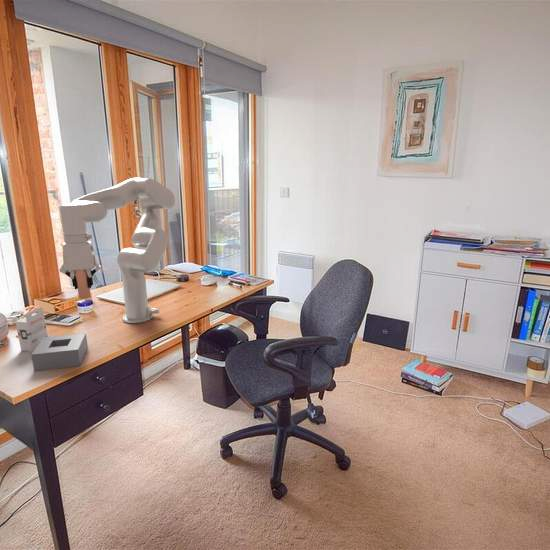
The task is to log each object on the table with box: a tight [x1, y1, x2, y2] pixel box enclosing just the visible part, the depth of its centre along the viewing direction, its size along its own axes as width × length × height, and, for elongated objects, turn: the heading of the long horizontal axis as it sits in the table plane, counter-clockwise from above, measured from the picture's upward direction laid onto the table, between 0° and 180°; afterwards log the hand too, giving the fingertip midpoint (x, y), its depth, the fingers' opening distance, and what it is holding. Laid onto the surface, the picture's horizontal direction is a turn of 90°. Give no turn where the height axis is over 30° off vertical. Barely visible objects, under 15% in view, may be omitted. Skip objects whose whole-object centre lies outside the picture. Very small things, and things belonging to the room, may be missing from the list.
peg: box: [75, 269, 92, 300], centre depth 144 cm, size 4×4×13 cm
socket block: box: [30, 332, 89, 372], centre depth 137 cm, size 14×14×6 cm
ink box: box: [14, 306, 49, 353], centre depth 145 cm, size 9×5×15 cm, turn 170°
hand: (83, 287), depth 145 cm, fingers closed on peg, 4 cm apart
